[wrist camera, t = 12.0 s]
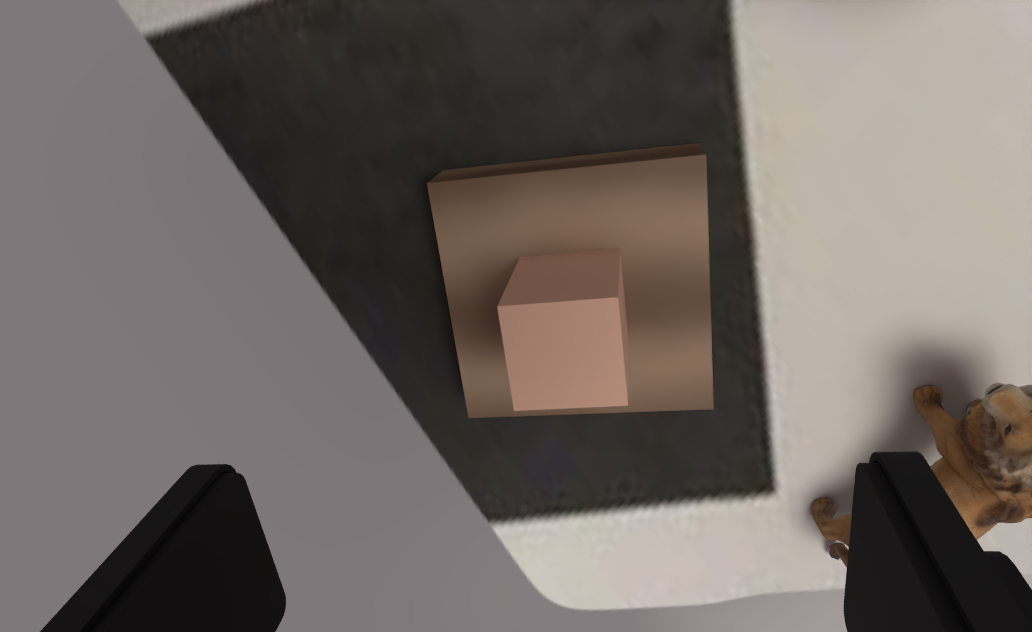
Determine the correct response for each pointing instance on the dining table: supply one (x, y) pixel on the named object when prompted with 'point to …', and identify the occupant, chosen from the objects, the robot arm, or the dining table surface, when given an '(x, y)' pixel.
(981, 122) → the dining table surface
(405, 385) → the dining table surface
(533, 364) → the terracotta block
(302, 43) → the dining table surface
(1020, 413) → the lion figurine
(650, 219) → the walnut base
